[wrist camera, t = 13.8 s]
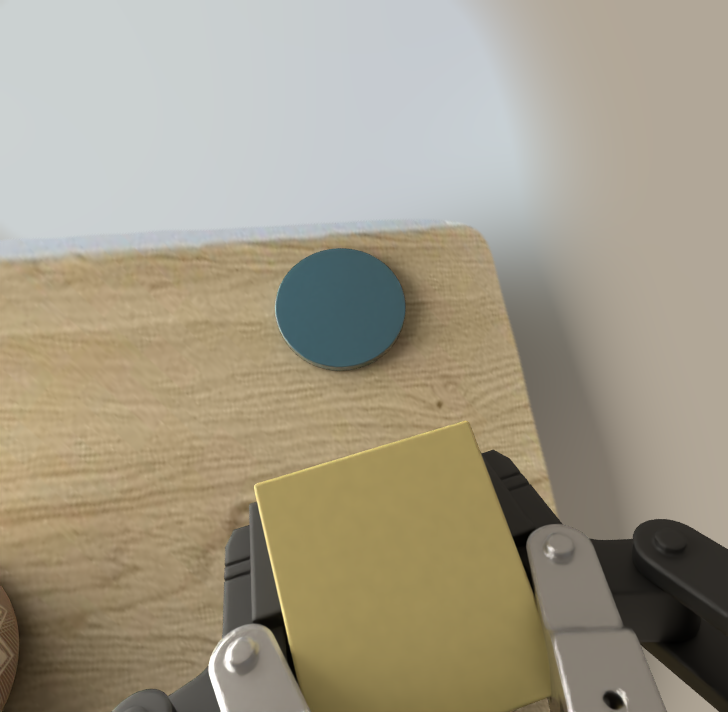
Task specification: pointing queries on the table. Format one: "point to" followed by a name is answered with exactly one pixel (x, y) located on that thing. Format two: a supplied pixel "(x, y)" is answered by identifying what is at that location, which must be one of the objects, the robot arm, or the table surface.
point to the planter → (7, 647)
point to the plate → (340, 309)
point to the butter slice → (404, 582)
